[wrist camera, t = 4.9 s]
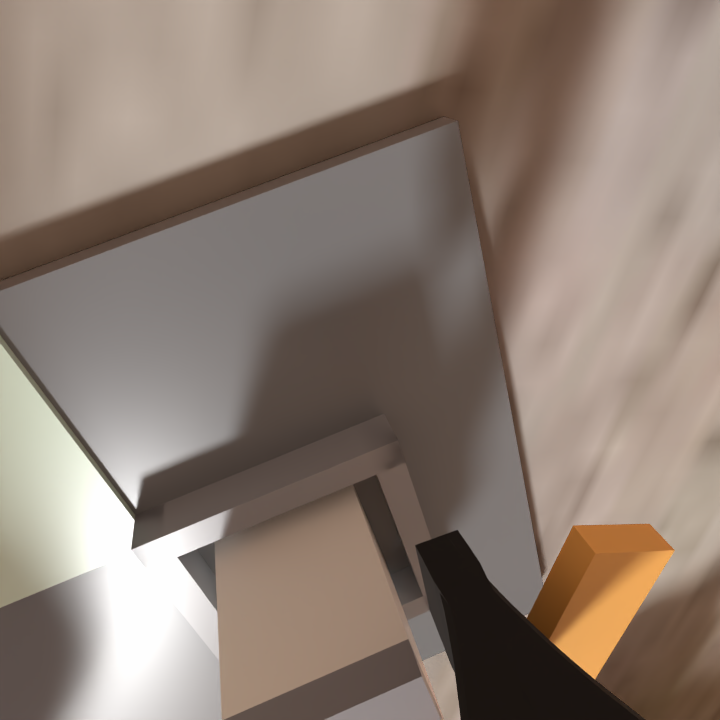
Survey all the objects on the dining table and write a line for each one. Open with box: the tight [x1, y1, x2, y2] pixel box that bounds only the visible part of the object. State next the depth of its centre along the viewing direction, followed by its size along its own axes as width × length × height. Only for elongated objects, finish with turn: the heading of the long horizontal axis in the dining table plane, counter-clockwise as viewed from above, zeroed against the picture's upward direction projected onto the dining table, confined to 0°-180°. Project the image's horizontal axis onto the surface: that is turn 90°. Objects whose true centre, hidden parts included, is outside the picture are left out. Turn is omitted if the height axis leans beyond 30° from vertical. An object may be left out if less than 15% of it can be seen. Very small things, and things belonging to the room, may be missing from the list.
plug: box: [214, 485, 444, 720], centre depth 14 cm, size 4×4×6 cm
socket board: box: [0, 117, 543, 720], centre depth 14 cm, size 18×18×7 cm
